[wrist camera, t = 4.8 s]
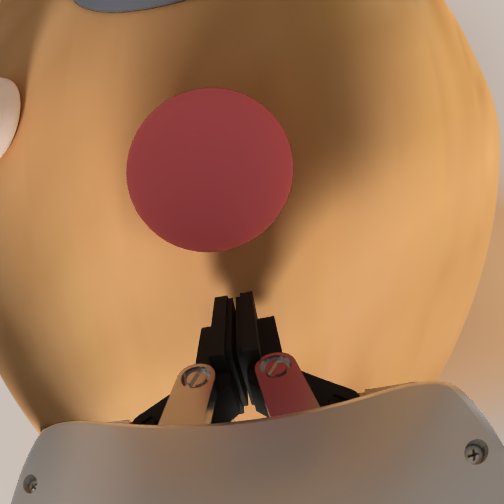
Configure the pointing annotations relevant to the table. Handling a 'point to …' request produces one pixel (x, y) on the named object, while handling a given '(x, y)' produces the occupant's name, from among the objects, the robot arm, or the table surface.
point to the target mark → (122, 5)
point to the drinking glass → (8, 112)
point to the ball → (209, 170)
